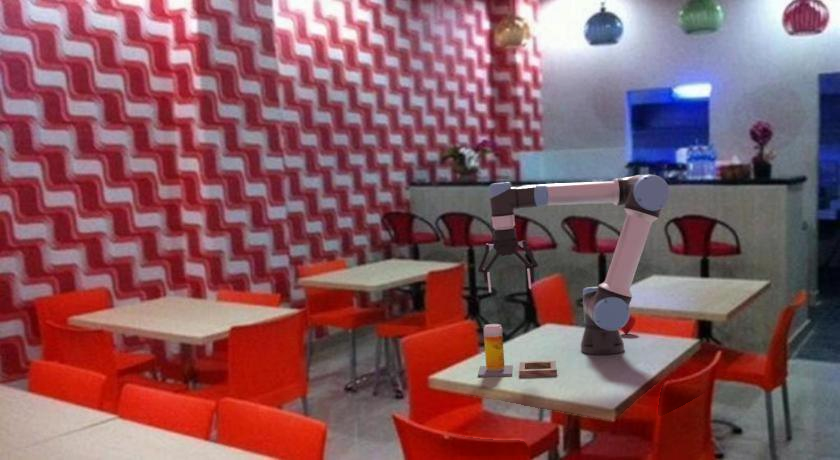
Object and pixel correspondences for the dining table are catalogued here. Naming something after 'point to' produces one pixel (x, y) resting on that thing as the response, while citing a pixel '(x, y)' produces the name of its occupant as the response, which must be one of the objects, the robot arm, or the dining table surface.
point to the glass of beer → (494, 347)
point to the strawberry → (629, 324)
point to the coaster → (505, 372)
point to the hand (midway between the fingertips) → (510, 290)
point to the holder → (530, 370)
